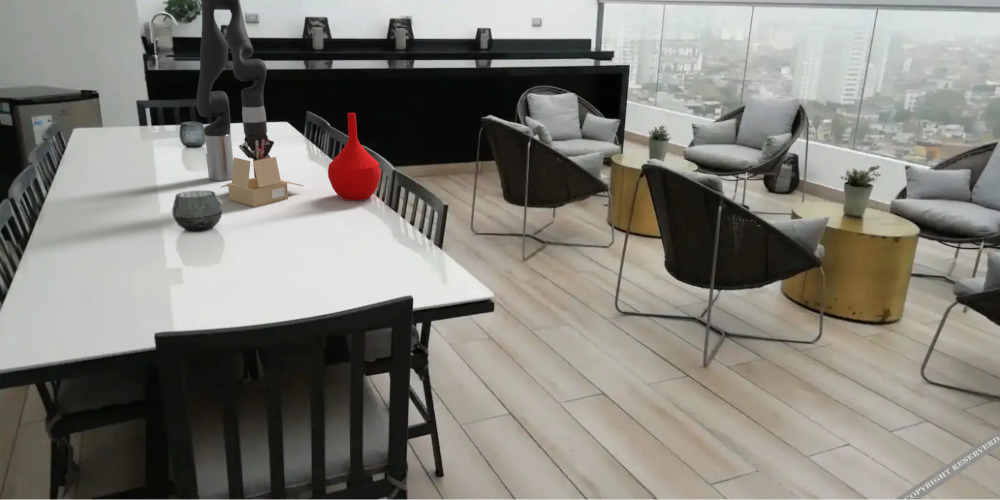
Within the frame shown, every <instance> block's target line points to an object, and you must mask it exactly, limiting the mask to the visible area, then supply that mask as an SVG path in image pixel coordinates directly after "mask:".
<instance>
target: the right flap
mask: <svg viewBox="0 0 1000 500" xmlns="http://www.w3.org/2000/svg"><path fill="white" fill-rule="evenodd" d="M250 172H251V160H247V159H243V158H239V157H233V172H232V179H231V183H232V184H235V185H239V186H243V187H247V188H248V184H249V179H250Z"/></svg>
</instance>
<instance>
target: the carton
mask: <svg viewBox="0 0 1000 500" xmlns="http://www.w3.org/2000/svg"><path fill="white" fill-rule="evenodd" d="M288 184H291V185H296V186H300V187H304V185H303V184H299V183H295V182H291V181H288V180H283V179H281V183H277V184H273V185H268V186H264V187H258V182H257V178H255V177H251V178H249V184H248V188H247V187H243V186H239V185H235V184H232V182H229V183H227V184H225V185H221V186H219V187H220V188H221V189H222V188H225V187H227V190H228V197H229V201H232V202H234V203H237V204H242V205H245V206H249V207H252V208H258V207H261V206H266V205H271V204H274V203H278V202H282V200H283V201H287V200H289V193H288V192H289V191H288ZM286 199H287V200H286Z"/></svg>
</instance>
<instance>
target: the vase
mask: <svg viewBox="0 0 1000 500" xmlns="http://www.w3.org/2000/svg"><path fill="white" fill-rule="evenodd" d="M356 115H357V114H356V113H355V112H348V113H347V134H348V138H347V142H346V144H345V145H344V147H342V149H341V150H340V151H339V153H338V154H337V155H336V156H335V157H334V158H333V160H332V161H331V162H330V163H329V164H328V169H327V178H328V180H329V182H330V185H331V188H332V189H333V191H334V192H335V193H336V195H337V196H339V198H341V199H342V200H346V201H351V202H352V201H353V202H354V201H355V202H356V201H357V202H358V201H364V200H367V199H369V198H371V197H372V196H373V194H375V192H376V190H377V189H378V186H379V183H380V180H381V177H382V169H381V167H380V168H379V166H380V163H379V162H378V161H377V160H376V159H375V158H374V157H373V156H372V155H371V154H370V153H369V152H368V151H367V150H366V149H365V147H364V146H362V145H361V143H360V141H359V139H358V132H357V131H358V129H357V117H356ZM380 169H381V170H380Z"/></svg>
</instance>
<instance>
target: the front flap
mask: <svg viewBox="0 0 1000 500" xmlns="http://www.w3.org/2000/svg"><path fill="white" fill-rule="evenodd" d="M253 164H254V166H253V170H254V169H255V173H256V178H257V182H258V187H264V186H268V185H273V184H277V183H281V180H282V179H281V175H280V169H279V166H278V162H277V157H276V156H272V157H271V158H267V159H261V160H256V161H253V160H252V165H253Z"/></svg>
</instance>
